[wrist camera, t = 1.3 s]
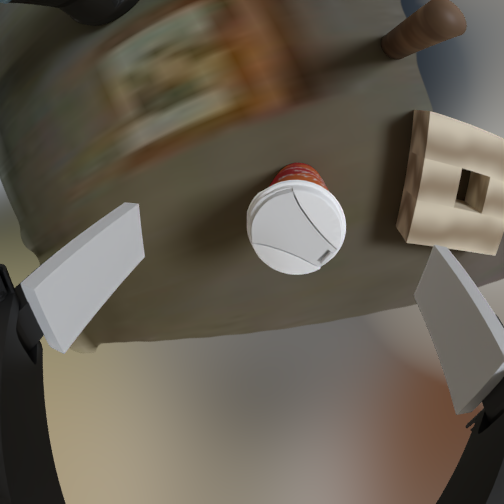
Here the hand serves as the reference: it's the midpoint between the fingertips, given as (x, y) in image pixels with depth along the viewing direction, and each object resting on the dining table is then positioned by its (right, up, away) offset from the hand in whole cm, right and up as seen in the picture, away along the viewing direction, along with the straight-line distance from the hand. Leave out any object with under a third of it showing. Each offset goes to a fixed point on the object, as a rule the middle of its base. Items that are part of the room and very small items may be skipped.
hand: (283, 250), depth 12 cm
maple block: (+26, +10, +18) cm, 33 cm away
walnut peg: (+16, +25, +12) cm, 32 cm away
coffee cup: (+5, +8, +23) cm, 25 cm away
